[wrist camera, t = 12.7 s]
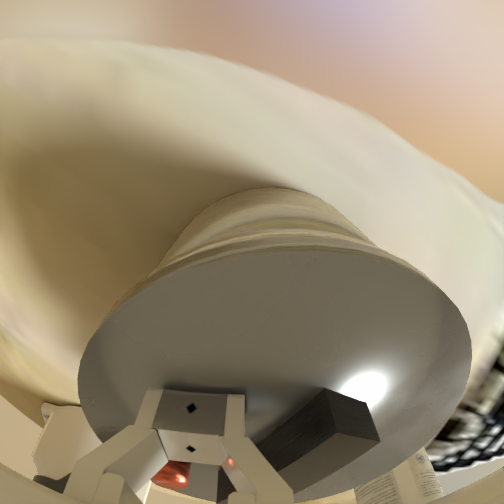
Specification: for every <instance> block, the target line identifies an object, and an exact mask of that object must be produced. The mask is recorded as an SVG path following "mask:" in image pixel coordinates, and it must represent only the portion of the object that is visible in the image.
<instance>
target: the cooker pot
mask: <svg viewBox="0 0 504 504" xmlns="http://www.w3.org/2000/svg"><path fill="white" fill-rule="evenodd" d="M298 236H313V237H322V238H331V239H340V240H348V241H352V242H355V243H359V244H363V245H367V246H370V247H374V248H378V247H377V246H376V245H375V244H374V243H373V242H372V241H371V240H369V239H368V238H367V237H366V236H365V235H364V234H363V233H362V232H361V231H360V230H359V229H358V228H357V227H356V226H354V225H353V224H352V223H351V222H350V221H349V220H348V219H347V218H346V217H345V216H343V215H342V214H341V213H340V212H339V211H337V210H336V209H335V208H334V207H333V206H331V205H329V204H328V203H326V202H324V201H323V200H321V199H319V198H317V197H314V196H312V195H310V194H307V193H304V192H300V191H296V190H293V189H285V188H257V189H250V190H245V191H242V192H238V193H235V194H232V195H229V196H227V197H225V198H222V199H220V200H218V201H216V202H215V203H213V204H212V205H210V206H208V207H207V208H205V209H204V210H203V211H202V212H201V213H199V214H198V215H197V216H196V217H195V218H194V219H193V220H192V221H191V222H190V223H189V224H188V225H187V227H186V228H185V229H184V230H183V232H182V233H181V234H180V236H179V237H178V238H177V240H176V241H175V242H174V244H173V245H172V247H171V248H170V249H169V251H168V252H167V253H166V255H165V256H164V258H163V259H162V260H161V262H160V263H159V265H158V266H157V267H156V269H155V270H153V271H152V272H151V273H150V274H149V275H148V276H147V277H149V276H151V275H152V274H154V273H155V272H157V271H158V270H160V269H162V268H163V267H166V266H168V265H170V264H172V263H175V262H177V261H179V260H181V259H184V258H186V257H188V256H191V255H193V254H195V253H199V252H202V251H206V250H209V249H213V248H216V247H220V246H223V245H227V244H230V243H235V242H242V241H249V240H255V239H262V238H269V237H298ZM378 249H380V248H378ZM381 250H382V249H381ZM383 251H384V250H383ZM385 252H386V251H385ZM387 253H388V252H387ZM147 277H145V278H144V279H146V278H147ZM144 279H143V280H144ZM143 280H142V281H143Z"/></svg>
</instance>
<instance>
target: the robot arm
mask: <svg viewBox="0 0 504 504" xmlns="http://www.w3.org/2000/svg"><path fill="white" fill-rule="evenodd" d="M41 412H42V416H43V420H44V423H45V427H44V429H43V431H42V433H41V435H40V438H39V439H38V441H37V443H36V446H35V448H34V450H33V452H32V457H33V458H34V463H35V465H36V467H37V471H38V475H36V476H35V477H34V479H33V480H31V479H29V478H27V477H25V476H23V475H21V474H19V473H17V472H16V471H13V470H12V469H10V468H9V467H7V466H5V465H4V464H2V463H0V504H145V502H146V498H147V495H148V492H149V489H150V485H151V482H152V481H151V480H150V479H151V478H152V477H153V476H154V475H155V474H156V473H157V472H158V471H159V470H160V469H161V468H162V467H163V466H164V465H165V464H166V463H167V462H168V460H173V461H182V462H193V463H202V464H211V465H222V468H223V469H224V471H225V473H226V474H227V476H228V477H229V479H230V481H231V482H232V484H233V485H234V487H235V488H236V490H237V492H233V493H231V494H230V495H229V496H228V504H294V498H293V490H292V489H291V488H290V487H289V486H288V484H287V483H286V482H285V481H284V480H283V479H282V478H281V476H280V475H279V474H278V473H277V472H276V471H275V469H274V468H273V467H272V466H271V465H270V463H269V462H268V461H267V460H266V459H265V457H264V456H263V455H262V454H261V452H260V451H259V450H258V449H257V447H256V446H255V445H254V444H253V442H252V441H251V440H250V438H249V437H245V395H236V394H215V393H197V392H196V393H192V392H183V391H175V390H167V389H159V388H152V387H149V388H148V390H147V391H146V393H145V396H144V399H143V402H142V404H141V407H140V410H139V413H138V415H137V418H136V421H135V424H134V426H133V425H129V426H127V427H126V428H124V429H123V430H122V431H120V432H119V433H117V434H116V435H114V436H113V437H112V438H110V439H109V440H107V441H106V442H104V443H102V442H101V441H100V440H99V439H98V437H97V436H96V434H95V433H94V431H93V430H92V428H91V427H90V425H89V423H88V421H87V419H86V417H85V415H84V412H83V410H82V407H77V406H56V405H53V404H50V403H43V404H42V407H41ZM425 504H504V467H502V468H501V469H499V470H497V471H495V472H493V473H492V474H490V475H488V476H486V477H485V478H482V479H480V480H478V481H476V482H474V483H472V484H470V485H468V486H466V487H464V488H462V489H460V490H458V491H455V492H453V493H451V494H448V495H446V496H443V497H441V498H438V499H436V500H433V501H431V502H428V503H425Z"/></svg>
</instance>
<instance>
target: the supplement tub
mask: <svg viewBox="0 0 504 504" xmlns="http://www.w3.org/2000/svg"><path fill="white" fill-rule="evenodd" d="M354 492H355V496H356V500H357V504H425V503H428V502H431V501H433V500H436V499H438V498H441V497H443V496H444V493H443V491H442V488H441V486H440V484H439V481H438V479H437V477H436V474H435V472H434V469H433V467H432V465H431V463H430V460H429V458H428V456H427V454H426V451H425V449H424V447H422V448H421V449H419V450H418V451H417V452H416V453H415V454H413V455H412V456H411V457H409V458H408V459H407V460H405V461H404V462H403V463H401V464H400V465H398V466H396V467H395V468H393V469H392V470H390V471H388V472H387V473H385V474H383V475H381V476H379V477H377V478H375V479H373V480H371V481H369V482H367V483H365V484H362V485H360V486H358V487H355V488H354Z"/></svg>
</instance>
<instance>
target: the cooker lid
mask: <svg viewBox="0 0 504 504" xmlns="http://www.w3.org/2000/svg"><path fill="white" fill-rule="evenodd" d="M471 360H472V349H471V339H470V335H469V331H468V328H467V324H466V322H465V320H464V318H463V317H462V315H461V313H460V311H459V309H458V308H457V307H456V305H455V304H454V303H453V302H452V301H451V300H450V299H449V298H448V296H447V295H446V294H445V293H444V292H443V291H442V290H441V289H440V288H439V287H438V286H437V285H436V284H435V283H433V282H432V281H431V280H430V279H429V278H428V277H427V276H426V275H425V274H423V273H422V272H421V271H419V270H418V269H416V268H415V267H413V266H412V265H411V264H409V263H408V262H406V261H405V260H403V259H400V258H398V257H396V256H394V255H392V254H389V253H387V252H385V251H383V250H381V249H378V248H374V247H370V246H367V245H363V244H359V243H355V242H352V241H348V240H340V239H331V238H322V237H313V236H298V237H269V238H262V239H255V240H249V241H242V242H235V243H230V244H227V245H223V246H220V247H216V248H213V249H209V250H206V251H202V252H199V253H195V254H193V255H191V256H188V257H186V258H184V259H181V260H179V261H177V262H175V263H172V264H170V265H168V266H166V267H163V268H162V269H160V270H158V271H157V272H155V273H154V274H152V275H151V276H149V277H147V278H146V279H144V280H143V281H141V282H139V283H138V284H136V285H135V286H134V287H133V288H132V289H131V290H130V291H129V292H128V293H126V294H125V295H124V296H123V297H122V298H121V299H120V300H119V301H118V302H117V303H116V304H115V305H114V306H113V308H112V309H111V310H110V312H109V313H108V314H107V316H106V317H105V318H104V320H103V321H102V323H101V324H100V326H99V327H98V329H97V330H96V332H95V333H94V335H93V336H92V338H91V339H90V341H89V343H88V345H87V347H86V349H85V352H84V354H83V356H82V359H81V361H80V367H79V373H78V395H79V399H80V403H81V407H82V410H83V412H84V415H85V417H86V419H87V421H88V423H89V425H90V427H91V428H92V430H93V431H94V433H95V434H96V436H97V437H98V439H99V440H100V441H101V442H102V443H104V442H106V441H107V440H109V439H110V438H112V437H113V436H114V435H116V434H117V433H119V432H120V431H122V430H123V429H124V428H126V427H127V426H129V425H133V426H134V424H135V421H136V418H137V415H138V413H139V410H140V407H141V404H142V402H143V399H144V396H145V393H146V391H147V390H148V388H149V387H152V388H159V389H167V390H175V391H183V392H192V393H196V392H197V393H215V394H236V395H245V437H249V438H250V440H251V441H252V442H253V444H254V445H255V446H256V447H257V449H258V450H259V451H260V452H261V454H262V455H263V456H264V457H265V459H266V460H267V461H268V462H269V463H270V465H271V466H272V467H273V468H274V469H275V471H276V472H277V473H278V474H279V475H280V476H281V478H282V479H283V480H284V481H285V482H286V483H287V484H288V486H289V487H290V488H291V489H292V490H293V498H294V503H299V502H305V501H310V500H315V499H320V498H324V497H328V496H331V495H335V494H338V493H341V492H344V491H347V490H350V489H353V488H355V487H358V486H360V485H362V484H365V483H367V482H369V481H371V480H373V479H375V478H377V477H379V476H381V475H383V474H385V473H387V472H388V471H390V470H392V469H393V468H395V467H396V466H398V465H400V464H401V463H403V462H404V461H405V460H407V459H408V458H409V457H411V456H412V455H413V454H415V453H416V452H417V451H418V450H419V449H421V448H422V447H423V446H424V445H425V444H426V443H427V442H428V441H429V440H430V439H431V438H432V437H433V436H434V435H435V434H436V433H437V432H438V431H439V430H440V429H441V427H442V426H443V425H444V424H445V422H446V421H447V420H448V418H449V417H450V416H451V414H452V412H453V411H454V409H455V408H456V406H457V404H458V403H459V400H460V398H461V396H462V394H463V392H464V390H465V387H466V384H467V381H468V377H469V374H470V368H471ZM150 480H151V481H152V482H153V483H155V484H156V485H158V486H161V487H164V488H167V489H171V490H174V491H176V492H179V493H182V494H186V495H189V496H192V497H196V498H200V499H204V500H209V501H214V502H216V504H228V496H229V495H230V494H231V493H233V492H237V490H236V488H235V487H234V485H233V484H232V482H231V481H230V479H229V477H228V476H227V474H226V473H225V471H224V469H223V468H222V465H211V464H202V463H193V462H182V461H173V460H168V462H167V463H166V464H165V465H164V466H163V467H162V468H161V469H160V470H159V471H158V472H157V473H156V474H155V475H154V476H153V477H152V478H151V479H150Z"/></svg>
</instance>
